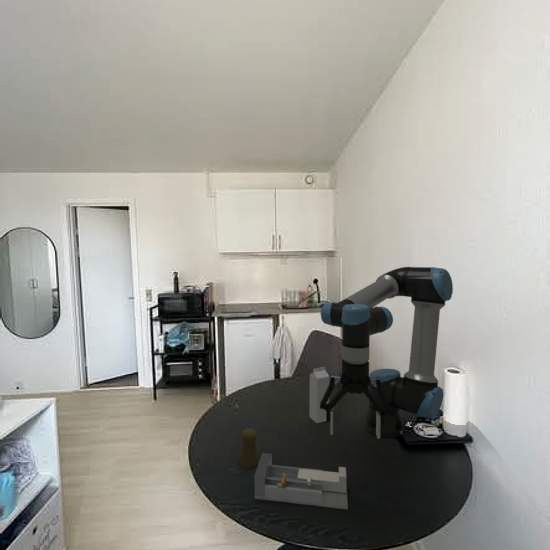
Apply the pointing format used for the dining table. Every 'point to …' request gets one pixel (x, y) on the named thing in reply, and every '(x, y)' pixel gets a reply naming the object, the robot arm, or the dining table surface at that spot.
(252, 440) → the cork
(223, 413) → the dining table surface
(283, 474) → the brown l-shaped block
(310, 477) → the plunger
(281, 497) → the gauge housing
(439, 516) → the dining table surface
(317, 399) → the milk
